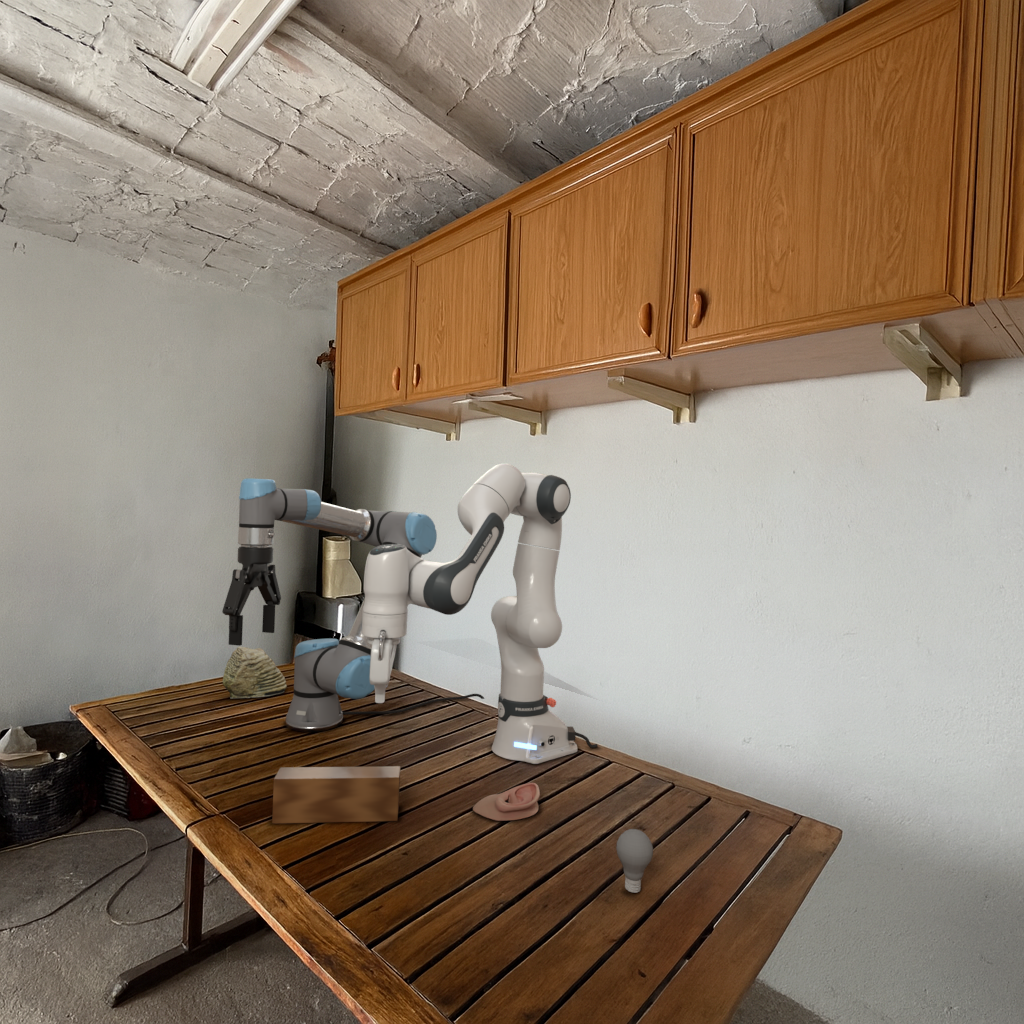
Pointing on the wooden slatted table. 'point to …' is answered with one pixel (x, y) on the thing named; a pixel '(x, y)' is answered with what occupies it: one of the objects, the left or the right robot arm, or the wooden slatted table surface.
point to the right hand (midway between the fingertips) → (381, 694)
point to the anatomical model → (510, 803)
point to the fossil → (252, 674)
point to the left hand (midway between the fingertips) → (252, 638)
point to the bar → (336, 794)
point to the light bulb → (634, 857)
